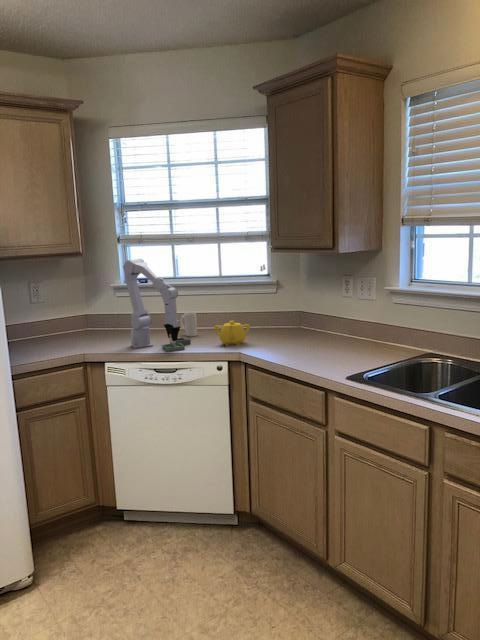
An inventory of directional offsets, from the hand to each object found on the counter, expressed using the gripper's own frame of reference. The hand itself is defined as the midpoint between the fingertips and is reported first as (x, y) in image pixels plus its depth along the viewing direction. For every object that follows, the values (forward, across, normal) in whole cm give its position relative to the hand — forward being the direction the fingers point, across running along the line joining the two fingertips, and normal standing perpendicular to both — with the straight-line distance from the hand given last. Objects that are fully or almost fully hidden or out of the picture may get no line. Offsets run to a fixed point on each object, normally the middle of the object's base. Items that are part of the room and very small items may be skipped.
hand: (172, 339), depth 268 cm
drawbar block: (+5, +8, -6) cm, 11 cm away
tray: (+5, 0, 0) cm, 5 cm away
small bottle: (+4, 0, 0) cm, 4 cm away
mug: (+5, +28, -16) cm, 33 cm away
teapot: (+5, -8, -28) cm, 30 cm away
